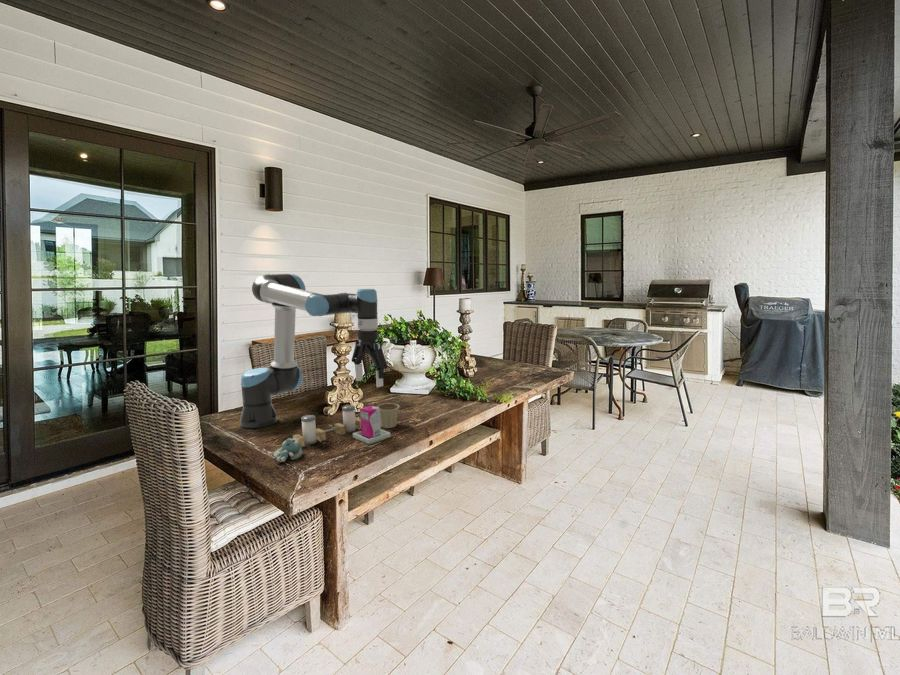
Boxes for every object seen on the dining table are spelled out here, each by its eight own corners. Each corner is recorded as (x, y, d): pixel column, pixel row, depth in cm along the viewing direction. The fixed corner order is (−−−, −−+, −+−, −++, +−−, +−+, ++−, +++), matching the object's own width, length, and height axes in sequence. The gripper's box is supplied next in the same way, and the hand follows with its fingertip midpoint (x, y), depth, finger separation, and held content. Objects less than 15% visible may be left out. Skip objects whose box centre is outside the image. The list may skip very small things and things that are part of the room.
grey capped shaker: (340, 430, 191) (339, 407, 189) (351, 427, 194) (350, 404, 193) (347, 433, 187) (346, 409, 186) (358, 430, 191) (357, 407, 189)
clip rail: (289, 442, 178) (288, 433, 178) (353, 423, 199) (352, 416, 198) (299, 447, 173) (299, 438, 172) (364, 428, 193) (363, 420, 192)
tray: (352, 437, 182) (352, 433, 182) (374, 430, 190) (374, 426, 190) (368, 444, 175) (368, 439, 175) (390, 437, 182) (390, 432, 182)
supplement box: (372, 432, 187) (371, 404, 185) (381, 435, 183) (380, 407, 181) (360, 436, 182) (359, 408, 181) (369, 439, 178) (368, 411, 177)
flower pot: (403, 427, 194) (403, 407, 193) (383, 431, 189) (382, 411, 188) (394, 421, 202) (393, 402, 201) (374, 425, 197) (373, 405, 196)
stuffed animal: (263, 449, 157) (280, 431, 168) (266, 467, 160) (283, 448, 171) (293, 450, 156) (307, 432, 167) (296, 468, 158) (310, 449, 169)
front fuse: (300, 442, 178) (298, 417, 177) (312, 438, 182) (311, 414, 180) (306, 445, 174) (305, 420, 173) (319, 441, 178) (317, 417, 177)
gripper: (341, 327, 182) (343, 379, 185) (379, 333, 165) (380, 391, 168) (357, 325, 187) (359, 376, 191) (396, 331, 170) (396, 387, 173)
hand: (369, 383), depth 179 cm, fingers open, 13 cm apart
